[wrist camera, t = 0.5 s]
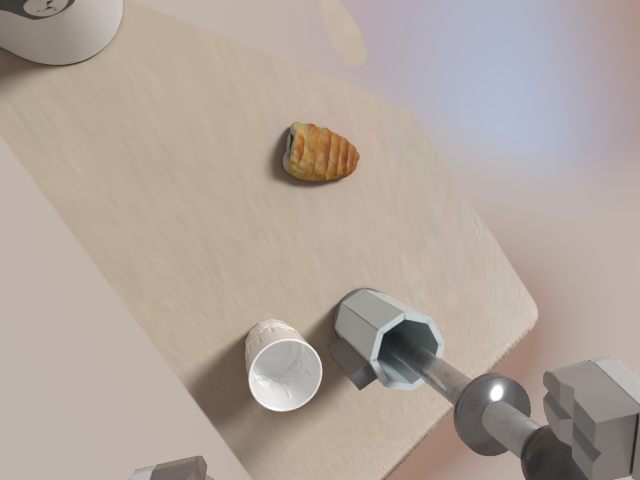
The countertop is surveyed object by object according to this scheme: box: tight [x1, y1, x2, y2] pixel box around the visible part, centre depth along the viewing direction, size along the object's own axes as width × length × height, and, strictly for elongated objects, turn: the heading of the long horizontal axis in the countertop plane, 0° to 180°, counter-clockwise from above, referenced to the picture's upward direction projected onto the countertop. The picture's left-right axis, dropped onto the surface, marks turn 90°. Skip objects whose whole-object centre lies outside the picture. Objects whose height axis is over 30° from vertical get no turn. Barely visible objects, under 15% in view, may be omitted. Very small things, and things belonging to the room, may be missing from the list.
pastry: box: [283, 122, 360, 181], centre depth 53 cm, size 9×7×4 cm
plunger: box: [385, 332, 588, 480], centre depth 36 cm, size 6×6×26 cm
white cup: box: [245, 319, 322, 412], centre depth 50 cm, size 8×8×10 cm
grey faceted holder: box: [327, 288, 445, 391], centre depth 52 cm, size 8×11×13 cm
